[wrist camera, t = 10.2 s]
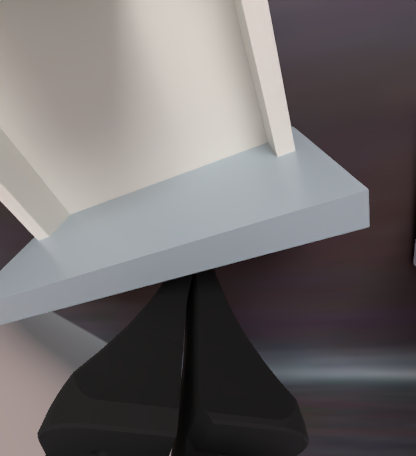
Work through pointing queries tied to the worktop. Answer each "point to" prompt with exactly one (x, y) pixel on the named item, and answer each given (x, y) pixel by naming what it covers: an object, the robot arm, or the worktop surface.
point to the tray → (151, 148)
